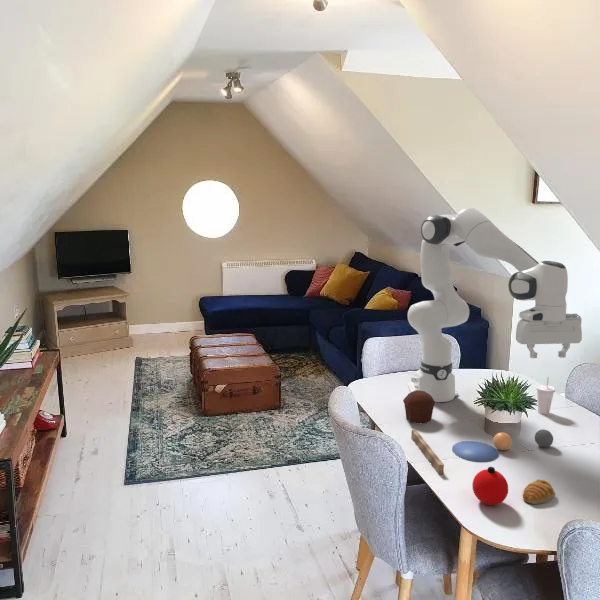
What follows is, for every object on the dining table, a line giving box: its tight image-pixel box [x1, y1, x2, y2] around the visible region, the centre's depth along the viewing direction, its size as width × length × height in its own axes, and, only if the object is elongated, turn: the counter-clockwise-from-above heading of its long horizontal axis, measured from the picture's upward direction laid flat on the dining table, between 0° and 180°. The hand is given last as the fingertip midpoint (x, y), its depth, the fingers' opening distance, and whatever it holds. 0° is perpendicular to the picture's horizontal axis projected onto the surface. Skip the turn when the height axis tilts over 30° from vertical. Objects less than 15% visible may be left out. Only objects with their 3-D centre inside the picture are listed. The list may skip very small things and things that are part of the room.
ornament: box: [471, 466, 509, 506], centre depth 148 cm, size 9×9×10 cm
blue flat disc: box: [451, 440, 499, 463], centre depth 178 cm, size 14×14×1 cm
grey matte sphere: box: [534, 429, 554, 448], centre depth 180 cm, size 6×6×6 cm
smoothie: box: [535, 376, 556, 416], centre depth 205 cm, size 6×6×14 cm
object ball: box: [492, 431, 513, 451], centre depth 178 cm, size 6×6×6 cm
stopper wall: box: [410, 429, 445, 475], centre depth 175 cm, size 24×2×3 cm, turn 8°
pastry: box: [522, 479, 556, 505], centre depth 151 cm, size 9×7×4 cm
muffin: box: [402, 390, 436, 425], centre depth 202 cm, size 12×11×10 cm
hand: (547, 357), depth 176 cm, fingers open, 8 cm apart
